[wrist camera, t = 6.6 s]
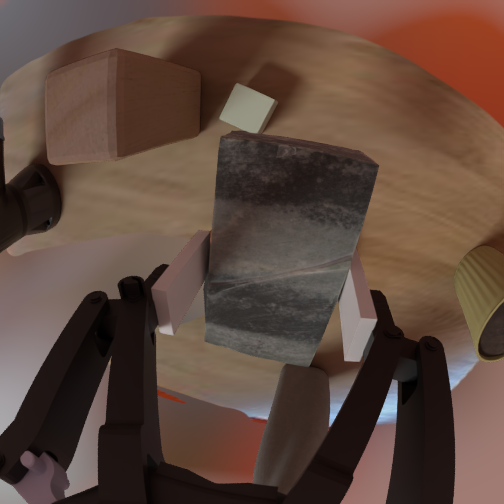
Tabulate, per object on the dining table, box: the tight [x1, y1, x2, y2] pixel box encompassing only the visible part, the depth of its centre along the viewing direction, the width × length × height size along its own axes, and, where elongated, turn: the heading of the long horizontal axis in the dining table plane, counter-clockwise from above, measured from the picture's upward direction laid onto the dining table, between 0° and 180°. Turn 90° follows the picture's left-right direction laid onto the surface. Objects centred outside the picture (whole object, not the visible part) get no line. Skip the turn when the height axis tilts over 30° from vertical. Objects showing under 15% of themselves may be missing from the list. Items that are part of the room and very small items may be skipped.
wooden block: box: [45, 48, 201, 165], centre depth 27 cm, size 10×10×20 cm
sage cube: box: [219, 83, 278, 134], centre depth 32 cm, size 5×5×5 cm
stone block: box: [203, 131, 379, 367], centre depth 17 cm, size 9×14×5 cm, turn 172°
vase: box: [253, 364, 330, 494], centre depth 42 cm, size 12×12×30 cm
